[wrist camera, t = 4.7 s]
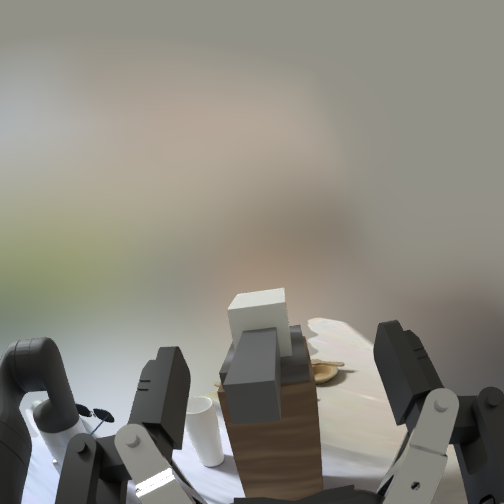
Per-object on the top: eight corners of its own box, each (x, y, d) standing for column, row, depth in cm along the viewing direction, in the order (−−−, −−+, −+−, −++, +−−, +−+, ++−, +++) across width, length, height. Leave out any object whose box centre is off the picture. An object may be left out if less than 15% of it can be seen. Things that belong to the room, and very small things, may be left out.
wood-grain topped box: (324, 529, 30) (313, 363, 28) (258, 535, 31) (213, 374, 29) (317, 474, 44) (303, 322, 42) (263, 480, 44) (233, 331, 43)
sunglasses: (118, 424, 68) (111, 410, 67) (90, 456, 54) (81, 443, 53) (77, 414, 72) (70, 401, 71) (50, 440, 58) (42, 427, 57)
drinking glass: (232, 464, 50) (217, 407, 50) (200, 473, 48) (181, 417, 47) (223, 447, 57) (208, 392, 56) (193, 455, 54) (175, 400, 53)
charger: (298, 418, 19) (288, 344, 19) (215, 424, 20) (198, 353, 19) (290, 332, 39) (283, 287, 39) (244, 337, 40) (237, 294, 39)
